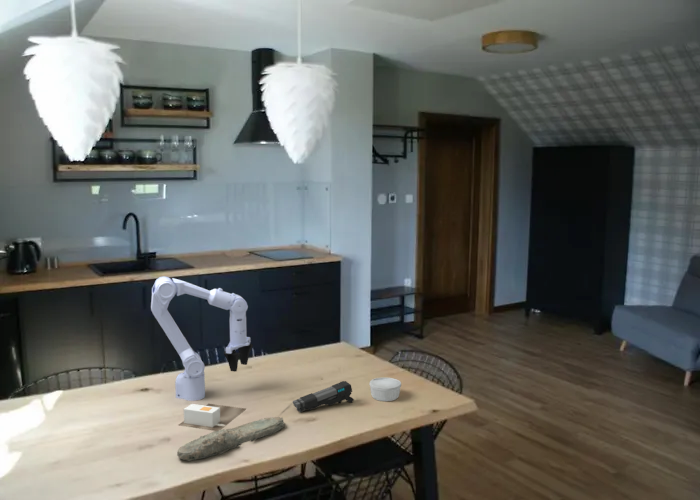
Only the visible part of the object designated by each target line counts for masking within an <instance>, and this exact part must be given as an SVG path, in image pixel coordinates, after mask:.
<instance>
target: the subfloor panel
mask: <svg viewBox="0 0 700 500" xmlns="http://www.w3.org/2000/svg"><path fill="white" fill-rule="evenodd" d="M205 406H212V407H219V408H220V422H219V423H218V424H216V425H215V426H214V427H207V426H200V425H194V424H187V423H184V420H183V421H182V422H181V423H179V424H178V426H181V427H188V428H195V429H201V430H206V431H212V432H214V431H219V430H223V428H225V427H226V426H227V425H228V424H230V423H231V422H232V421H233V420H234V419H236V418H237V417H238V416H240V415H241V414H242V413H243V412H245V411H246V410H247V408H245V407H243V408H242V407H236V406H228V405H222V404H214V403H208V404H206V405H205Z"/></svg>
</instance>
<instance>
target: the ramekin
mask: <svg viewBox="0 0 700 500" xmlns="http://www.w3.org/2000/svg"><path fill="white" fill-rule="evenodd" d="M368 385H369V387H370V389H369V390H370V394H371V397H372V398H373V399H374V400H376V401H379V402H393V401H396V400H397V399H398V398H399V397H400V393H401V387H402V381H400V380H399V379H396V378H393V377H375V378H372V379H371V380H370V381H369V384H368Z"/></svg>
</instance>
